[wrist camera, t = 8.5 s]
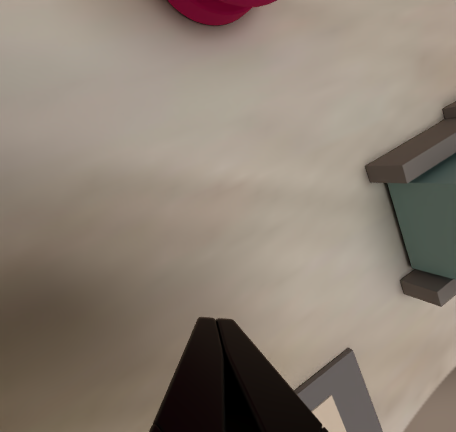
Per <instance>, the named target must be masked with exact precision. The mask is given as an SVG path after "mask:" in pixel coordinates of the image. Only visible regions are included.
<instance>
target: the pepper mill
mask: <svg viewBox="0 0 456 432" xmlns="http://www.w3.org/2000/svg"><path fill="white" fill-rule="evenodd" d="M274 1H277V0H168V2H169V3H170V4H171V5H172V6H173V7H174V8H175V9H177V10H178V11H179V12H180V13H182V14H183V15H184V16H186V17H188V18H189V19H192V20H194V21H196V22H199V23H202V24H207V25H224V24H228V23H231V22H233V21H235V20H237V19H239V18H240V17H242V16H243V15H244V14H245V13H247V12H248V11H249V10H250V9H251V8H252V7H259V6H263V5H267V4H270V3H272V2H274Z"/></svg>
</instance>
